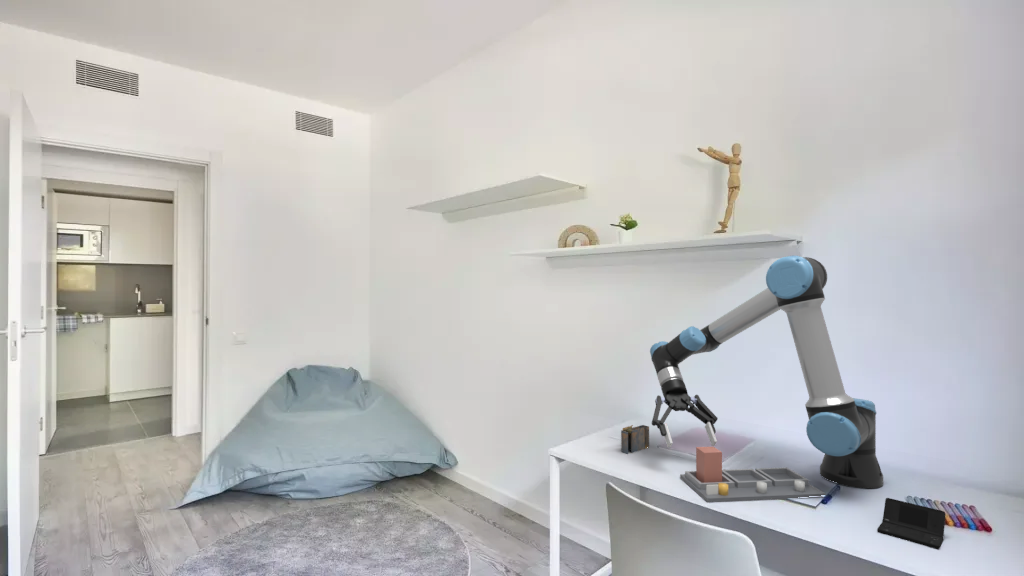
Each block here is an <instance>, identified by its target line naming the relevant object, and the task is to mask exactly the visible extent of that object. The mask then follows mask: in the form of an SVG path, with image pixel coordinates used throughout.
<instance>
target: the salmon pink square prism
mask: <svg viewBox="0 0 1024 576" xmlns="http://www.w3.org/2000/svg"><path fill="white" fill-rule="evenodd" d="M695 455H696V456H695V458H696V459H695V461H696V462H695V463H696V464H695V465H696V467H695V471H696V478H697V479H698V480H699V481H700V482H701V483H710V482H722V470H723V452H722V451H721V450H720V449H718V448H716V447H714V446H696V447H695Z"/></svg>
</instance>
